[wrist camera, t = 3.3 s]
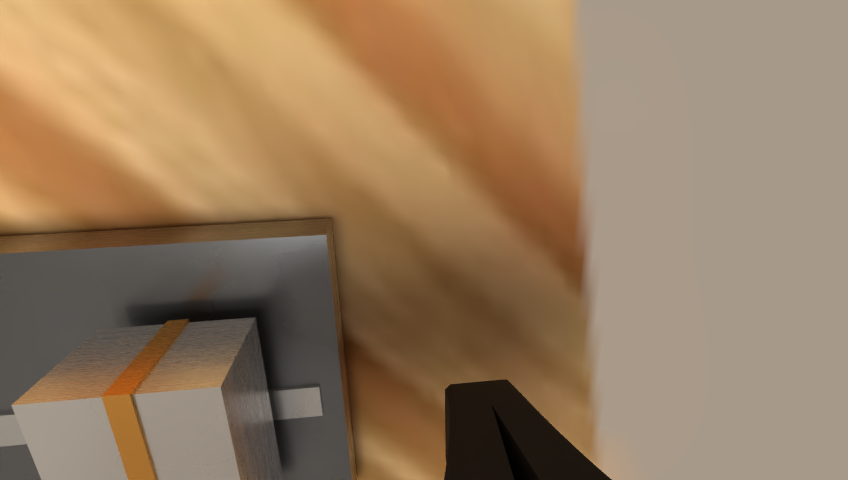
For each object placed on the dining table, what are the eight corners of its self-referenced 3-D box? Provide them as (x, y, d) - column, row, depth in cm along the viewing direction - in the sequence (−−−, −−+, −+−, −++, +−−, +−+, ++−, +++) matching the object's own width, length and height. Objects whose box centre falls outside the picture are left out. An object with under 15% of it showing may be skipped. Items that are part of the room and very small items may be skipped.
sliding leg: (287, 503, 11) (266, 608, 8) (156, 517, 10) (99, 630, 8) (255, 314, 9) (218, 385, 7) (98, 325, 9) (7, 404, 7)
